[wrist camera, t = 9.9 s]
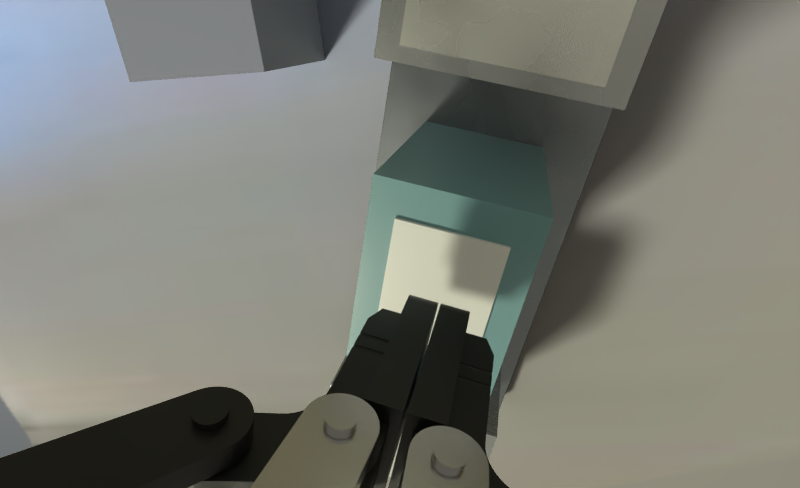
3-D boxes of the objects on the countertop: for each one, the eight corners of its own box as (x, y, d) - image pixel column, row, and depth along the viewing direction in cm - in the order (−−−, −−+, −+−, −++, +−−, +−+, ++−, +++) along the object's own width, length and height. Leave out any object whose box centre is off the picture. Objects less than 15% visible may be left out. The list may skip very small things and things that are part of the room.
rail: (423, -106, 15) (356, -190, 9) (673, -67, 14) (783, -132, 8) (351, 352, 25) (295, 460, 19) (499, 397, 24) (491, 528, 17)
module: (425, 121, 18) (372, 175, 11) (543, 147, 17) (554, 220, 11) (400, 255, 20) (345, 357, 14) (500, 282, 20) (489, 401, 14)
